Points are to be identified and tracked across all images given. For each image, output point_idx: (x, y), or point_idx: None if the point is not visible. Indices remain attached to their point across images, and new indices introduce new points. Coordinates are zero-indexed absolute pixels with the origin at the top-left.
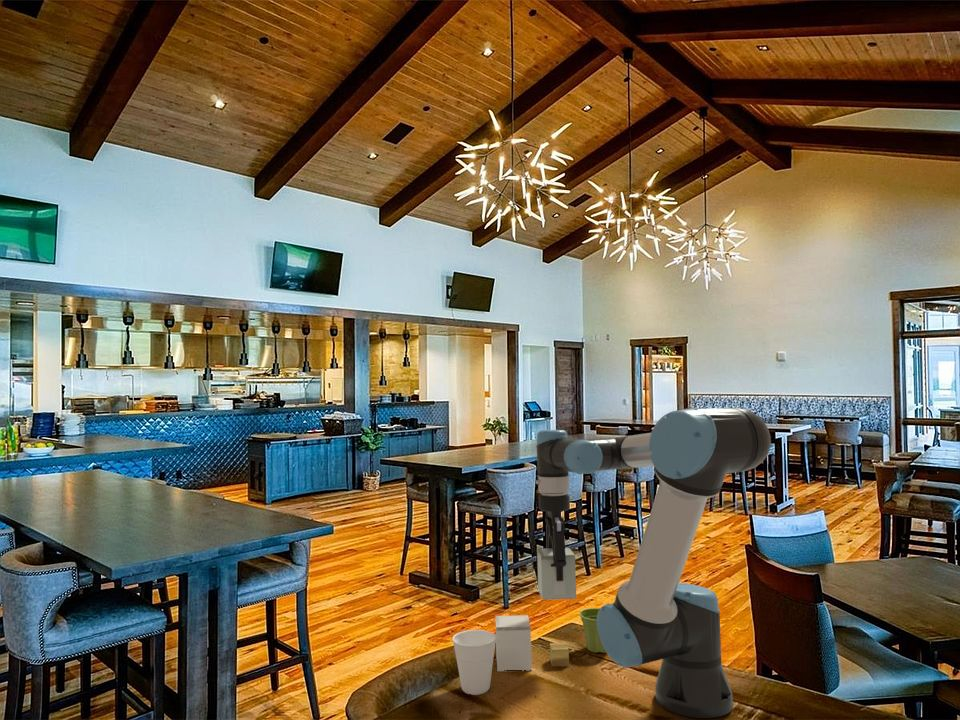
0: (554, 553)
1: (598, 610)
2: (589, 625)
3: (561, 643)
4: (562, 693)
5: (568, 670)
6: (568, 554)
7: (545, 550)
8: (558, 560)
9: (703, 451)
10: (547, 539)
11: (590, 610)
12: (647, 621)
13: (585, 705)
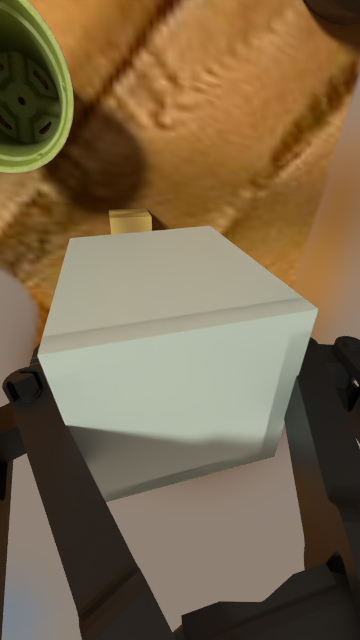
0: (353, 427)
1: None
2: (56, 138)
3: (114, 230)
4: (256, 232)
5: (166, 211)
6: (281, 349)
7: (148, 467)
8: (350, 383)
9: None
10: (6, 542)
11: None
12: None
13: (303, 196)
